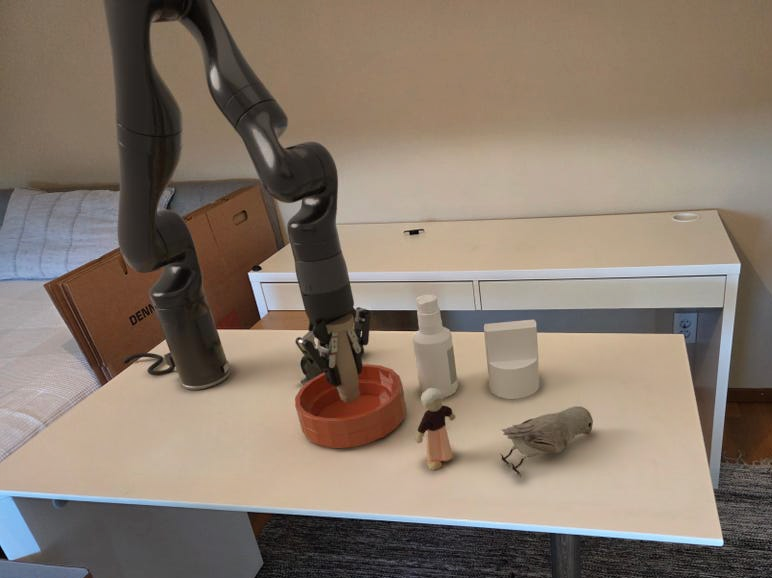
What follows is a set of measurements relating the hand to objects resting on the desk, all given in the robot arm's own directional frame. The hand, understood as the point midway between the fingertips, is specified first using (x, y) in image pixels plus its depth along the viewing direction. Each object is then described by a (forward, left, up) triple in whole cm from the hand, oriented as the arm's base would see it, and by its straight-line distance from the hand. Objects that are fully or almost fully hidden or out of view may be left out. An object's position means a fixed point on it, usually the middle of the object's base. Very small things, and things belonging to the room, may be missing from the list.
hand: (345, 378), depth 105 cm
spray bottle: (+6, +15, -9) cm, 18 cm away
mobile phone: (-18, +10, -9) cm, 22 cm away
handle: (0, 0, -4) cm, 4 cm away
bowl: (0, 0, -8) cm, 8 cm away
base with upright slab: (+17, +23, -9) cm, 30 cm away
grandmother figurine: (+20, 0, -9) cm, 22 cm away
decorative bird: (+33, +10, -9) cm, 36 cm away
